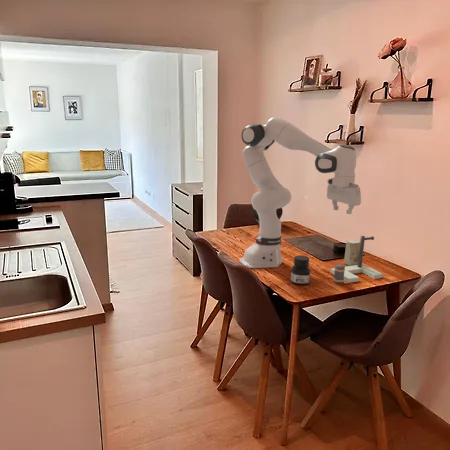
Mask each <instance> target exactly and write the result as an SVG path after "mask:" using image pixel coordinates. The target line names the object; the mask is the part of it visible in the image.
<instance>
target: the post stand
mask: <svg viewBox="0 0 450 450" xmlns="http://www.w3.org/2000/svg"><path fill="white" fill-rule="evenodd" d="M374 239H375V237H374V236H369V237H366V235H360V239H359V242H360V248H359V257H358V264H356V265H350V266H349V265H347V266H345V271H344V281H343V282H346V283H355V282H356V283H357V282H360V277H359V276H358V275H356V274H360V273H362V274H364V275H366V276H367V275H368V277H370V278H372V279H373V280H376V279H382V278H383V273H382V272H380V271H379V270H376V269H374V268H372V267H370V266H368V265H366V264H364V263H363V256H364V251H365V249H364V248H365V241H374ZM334 268H335V267H333V268H330V271H329V272H330V273H331V274H333V275H334V272H335V270H334Z"/></svg>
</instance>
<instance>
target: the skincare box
mask: <svg viewBox="0 0 450 450" xmlns="http://www.w3.org/2000/svg"><path fill="white" fill-rule="evenodd" d="M359 248H360V241H358V240H347V241H346V244H345V252H344V261H343V264H345V265H347V266H354V265H358V257H359Z"/></svg>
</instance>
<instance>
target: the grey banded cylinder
mask: <svg viewBox="0 0 450 450" xmlns="http://www.w3.org/2000/svg"><path fill="white" fill-rule="evenodd" d="M345 267H346V266H345V265H343V264H335V265H334V267H333V268H334V270H335V272H334V274H333V283H334V284H336V285H343V284H344V282H345V281H344V271H345Z"/></svg>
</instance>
